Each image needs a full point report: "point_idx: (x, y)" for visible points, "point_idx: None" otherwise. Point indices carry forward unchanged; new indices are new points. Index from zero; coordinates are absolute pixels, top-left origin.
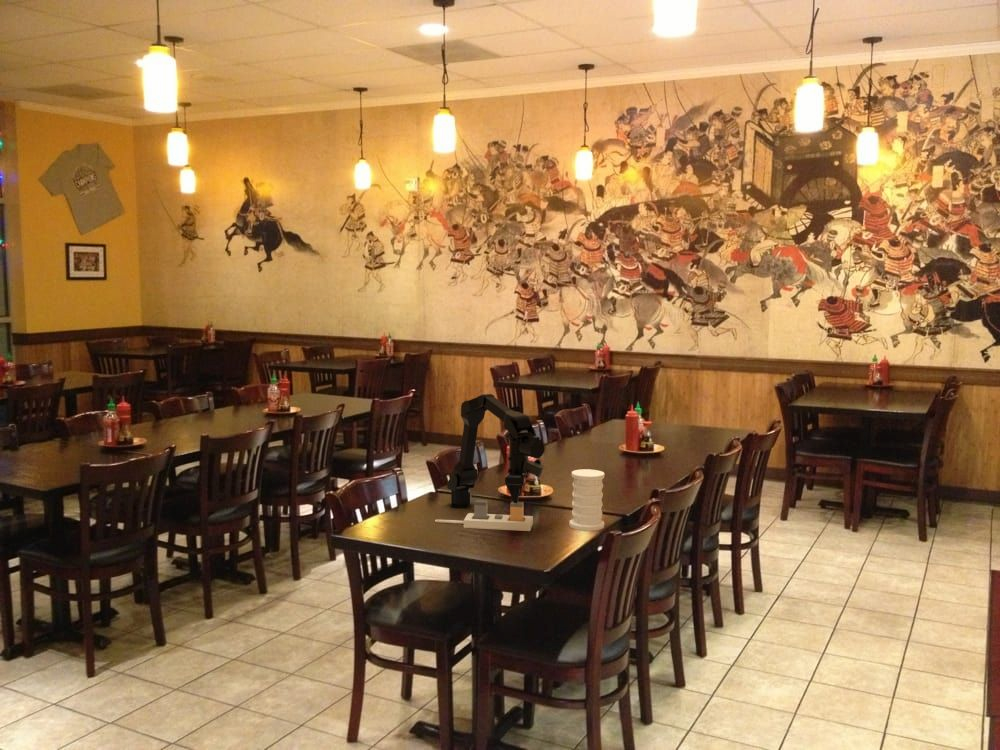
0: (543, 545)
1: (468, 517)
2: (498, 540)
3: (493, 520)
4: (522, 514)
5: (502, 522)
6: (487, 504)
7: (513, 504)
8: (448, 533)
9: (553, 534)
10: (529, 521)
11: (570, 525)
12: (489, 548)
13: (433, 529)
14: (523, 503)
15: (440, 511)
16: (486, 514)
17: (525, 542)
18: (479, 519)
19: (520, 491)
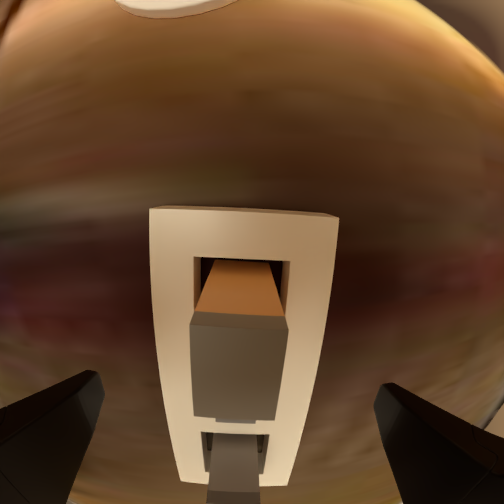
0: (495, 162)
1: None
2: (445, 339)
3: (284, 416)
4: (261, 289)
5: (314, 377)
6: (210, 485)
7: (278, 398)
8: (346, 474)
9: (365, 90)
10: (288, 225)
11: (210, 7)
12: (496, 343)
13: (304, 501)
14: (193, 318)
15: (122, 492)
16: (245, 454)
17: (475, 233)
18: (271, 456)
19: (74, 401)
